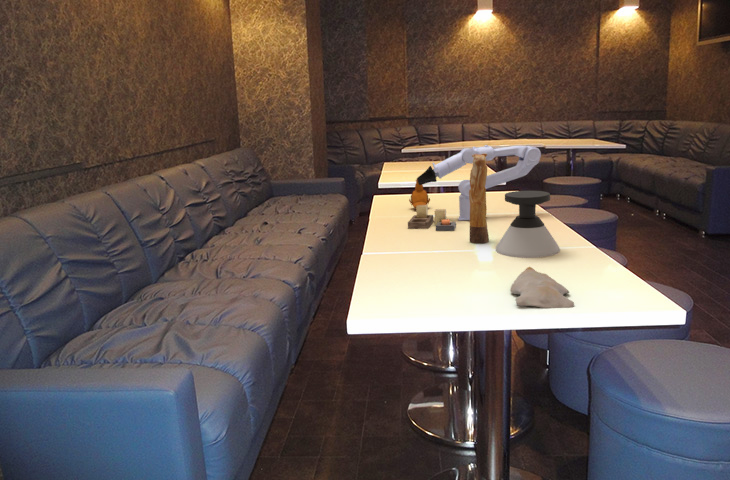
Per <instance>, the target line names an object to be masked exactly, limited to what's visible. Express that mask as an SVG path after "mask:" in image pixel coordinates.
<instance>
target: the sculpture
mask: <svg viewBox="0 0 730 480" xmlns="http://www.w3.org/2000/svg"><path fill="white" fill-rule="evenodd" d="M486 156H487V154H486V153H484V154H481V155H480V154H474V155H472V157H473V163H472V167H471V169H470V174H469V176H470V177H469V180H470V187H471V189H470V190H469V200H470V220H469V243H472V244H476V245H477V244H478V245H479V244H486V243H488V242H489V241H490V237H489V231H488V230H489V229H488V223H487V219H486V218H487V189H486V188H485V184H486V178H487V176H488V166H487V161H486Z"/></svg>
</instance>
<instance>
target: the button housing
mask: <svg viewBox="0 0 730 480" xmlns="http://www.w3.org/2000/svg"><path fill="white" fill-rule="evenodd" d="M456 228H457V222H456V221H450V225H442V222H438V223H437V224H436V226H435V232H449V231H450V232H454V231H455V230H456Z"/></svg>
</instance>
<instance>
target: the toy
mask: <svg viewBox="0 0 730 480" xmlns="http://www.w3.org/2000/svg"><path fill="white" fill-rule="evenodd" d="M430 198H431V197H429V195H428V193H427V190H426V189H424V184H422V185H419V183H418V181H417V178H416V179H415V185H414V190H412V192H411V195H410V198H409V199H408V201H409V203H410V205H411V206H412V207H413V208H414V209H416V207H417V206H418V205H429V204H430V202H431V199H430Z"/></svg>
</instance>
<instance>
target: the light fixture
mask: <svg viewBox="0 0 730 480" xmlns="http://www.w3.org/2000/svg"><path fill="white" fill-rule="evenodd" d="M504 201H505V202H507V203H510V204H512V205H518V215H517V216H516V217H515V218H514V219H513V220H512V222H511V223H510V225H509V227H508V229H506V231H505V233H504V234H503V236H502V237H501V238H500V240H499V242H498V243H497V245H496V246H495V252H496V253H497V254H500V255H501V256H507V257H510V258H521V259H524V258H526V259H527V258H528V259H530V258H531V259H534V258H535V259H536V258H537V259H538V258H545V257H551V256H554V255H557V254H559V253H560V251H561V249H560V246H559V244H558V242H557V241H556V239H555V238H554V236H553V235H552V234H551V232H550V231H549V229H548V228H547V226H545V223H544V221H542V219H541V218H540V217H539V215H537V214H536V211H537V210H536V207H537V205H541V204H544V203H547V202H549V201H551V193H550V192H547V191H542V190H518V191H517V190H516V191H510V192H506V193H505V194H504Z"/></svg>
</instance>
